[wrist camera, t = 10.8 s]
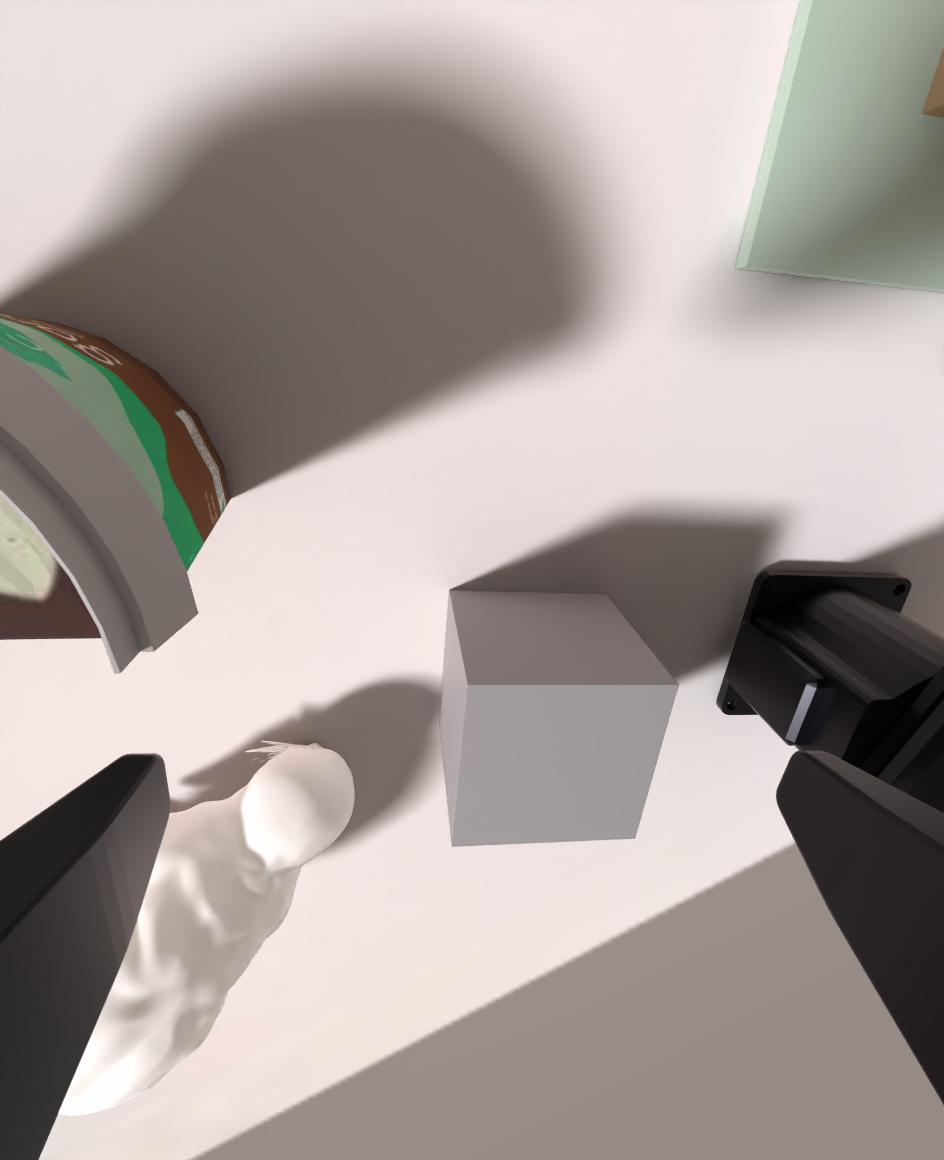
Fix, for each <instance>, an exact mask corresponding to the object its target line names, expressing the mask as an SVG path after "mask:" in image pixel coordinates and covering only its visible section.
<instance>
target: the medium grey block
mask: <svg viewBox="0 0 944 1160" xmlns="http://www.w3.org/2000/svg"><path fill="white" fill-rule="evenodd" d="M677 689H678V683H677V682H676V681H675V680H674V678H673V677H672V676H671V675H670V673H669V672H668V671H667V670H666V668H665V667H664V666H663V665H662V663H661V662H660V661H659V660H658V658H657V657H656V656H655V655H654V653H653V652H652V651H651V649H650V648H649V647H648V646H647V644H646V643H645V642H644V641H643V639H642V638H641V637H640V636H639V634H638V633H637V632H636V631H635V629H634V628H633V627H632V626H631V624H630V623H629V622H628V621H627V619H626V618H625V617H624V615H623V614H622V613H621V612H620V610H619V609H618V608H617V607H616V605H615V604H614V603H613V602H612V600H611V599H610V598H609V597H608V595H607V594H595V593H554V592H513V591H472V590H449V597H448V610H447V624H446V637H445V651H444V664H443V677H442V691H441V704H440V718H439V727H440V737H441V746H442V756H443V765H444V775H445V784H446V794H447V804H448V813H449V823H450V832H451V842H452V847H454V846H477V845H499V844H522V843H544V842H567V841H590V840H612V839H635V837H636V833H637V830H638V826H639V823H640V819H641V816H642V812H643V809H644V805H645V802H646V798H647V795H648V791H649V788H650V784H651V781H652V777H653V773H654V770H655V766H656V763H657V759H658V756H659V752H660V749H661V745H662V742H663V738H664V735H665V731H666V728H667V724H668V721H669V717H670V714H671V710H672V707H673V703H674V699H675V696H676V692H677Z"/></svg>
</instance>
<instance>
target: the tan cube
mask: <svg viewBox="0 0 944 1160" xmlns="http://www.w3.org/2000/svg"><path fill="white" fill-rule="evenodd" d="M922 114H924V115H930V116H936V117H941V118H944V47H943V50H942V53H941V56H940V59H939V62H938V65H937V68H936V71H935V74H934V77H933V80H932V83H931V86H930V89H929V92H928V95H927V99H926V102H925V105H924V108H923V111H922Z"/></svg>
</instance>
